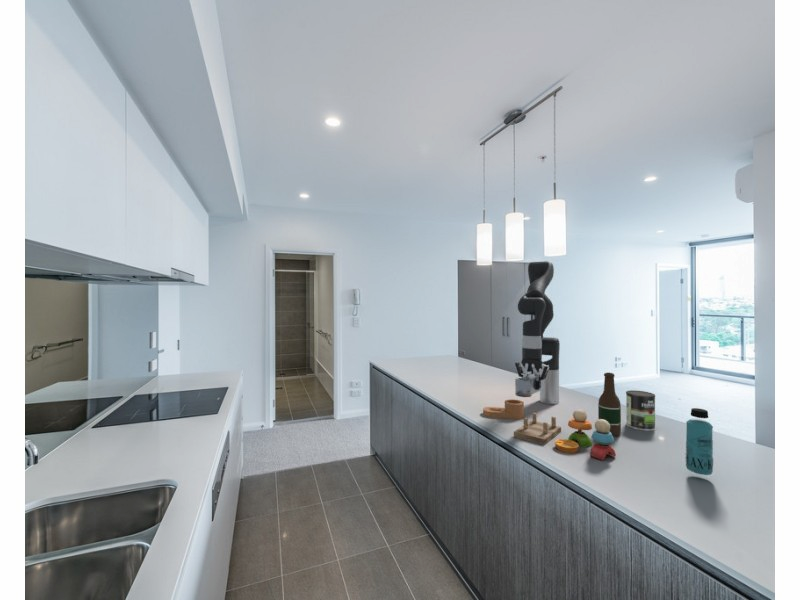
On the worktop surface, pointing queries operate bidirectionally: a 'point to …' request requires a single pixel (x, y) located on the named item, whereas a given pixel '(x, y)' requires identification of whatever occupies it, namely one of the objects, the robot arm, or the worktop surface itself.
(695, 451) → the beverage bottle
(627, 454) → the worktop surface
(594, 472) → the worktop surface
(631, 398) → the coffee can
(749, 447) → the worktop surface
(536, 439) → the rack
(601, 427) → the wooden stacking toy
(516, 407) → the bracket
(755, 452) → the worktop surface
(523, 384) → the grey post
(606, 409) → the beer bottle
